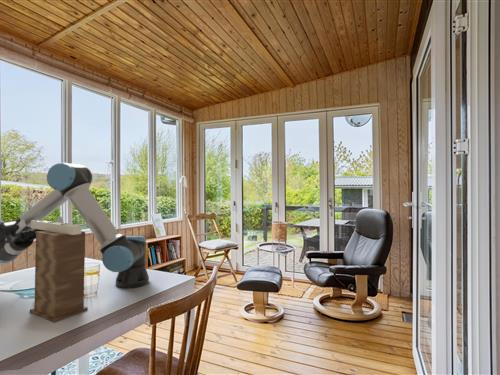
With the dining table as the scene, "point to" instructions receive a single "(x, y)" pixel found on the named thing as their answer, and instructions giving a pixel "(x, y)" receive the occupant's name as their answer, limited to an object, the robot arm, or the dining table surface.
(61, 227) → the domino bar
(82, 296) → the walnut post
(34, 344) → the dining table surface
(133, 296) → the dining table surface
